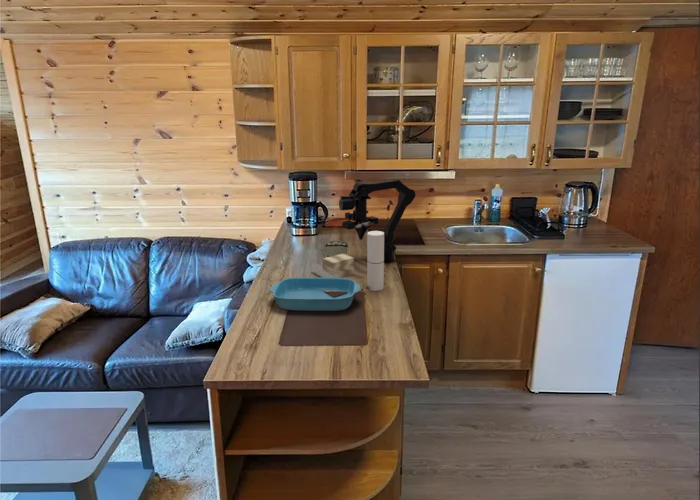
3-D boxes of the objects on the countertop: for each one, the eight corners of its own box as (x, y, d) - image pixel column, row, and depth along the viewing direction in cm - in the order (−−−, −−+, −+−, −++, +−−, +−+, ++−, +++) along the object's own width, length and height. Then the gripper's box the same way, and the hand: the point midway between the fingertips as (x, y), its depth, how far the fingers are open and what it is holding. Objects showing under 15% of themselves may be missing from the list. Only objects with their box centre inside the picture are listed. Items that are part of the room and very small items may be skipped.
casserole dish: (265, 313, 184) (263, 296, 181) (277, 291, 205) (276, 275, 203) (359, 315, 181) (359, 298, 179) (361, 292, 202) (361, 277, 200)
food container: (350, 258, 244) (349, 240, 241) (348, 262, 238) (348, 243, 235) (326, 258, 245) (326, 239, 242) (324, 262, 239) (324, 243, 236)
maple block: (344, 269, 225) (343, 253, 222) (354, 274, 219) (353, 257, 216) (323, 274, 218) (322, 258, 216) (332, 279, 212) (332, 263, 210)
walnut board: (360, 262, 238) (360, 260, 237) (385, 274, 222) (385, 271, 222) (310, 275, 222) (310, 272, 221) (334, 288, 206) (334, 285, 206)
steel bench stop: (316, 271, 223) (315, 263, 222) (340, 283, 207) (339, 275, 206) (311, 272, 221) (311, 264, 220) (335, 285, 206) (335, 276, 205)
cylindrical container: (364, 289, 205) (364, 234, 197) (371, 283, 211) (371, 230, 203) (379, 291, 202) (380, 236, 194) (386, 286, 208) (386, 232, 200)
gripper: (365, 203, 238) (365, 232, 243) (335, 208, 228) (335, 239, 233) (379, 207, 229) (379, 237, 234) (348, 212, 219) (349, 244, 224)
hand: (360, 239), depth 231 cm, fingers closed
